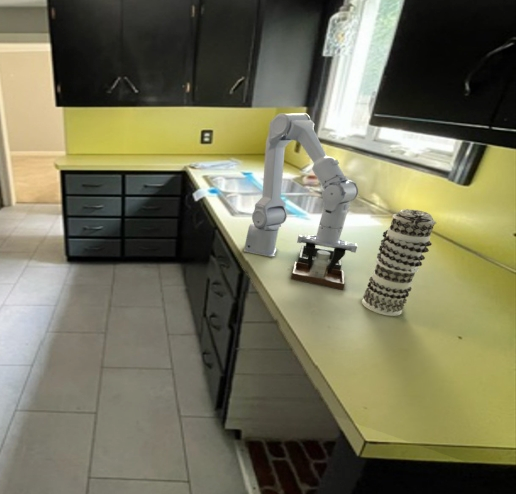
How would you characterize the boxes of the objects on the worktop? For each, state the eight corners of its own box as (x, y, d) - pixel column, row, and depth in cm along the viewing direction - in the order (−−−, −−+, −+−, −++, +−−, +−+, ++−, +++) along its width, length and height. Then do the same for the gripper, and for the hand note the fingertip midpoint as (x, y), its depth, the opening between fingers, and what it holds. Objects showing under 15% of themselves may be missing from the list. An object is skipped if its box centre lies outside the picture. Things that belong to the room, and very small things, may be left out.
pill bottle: (327, 280, 104) (334, 256, 101) (311, 279, 105) (317, 254, 101) (323, 273, 108) (329, 250, 104) (307, 272, 108) (313, 248, 105)
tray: (290, 278, 106) (292, 273, 105) (293, 266, 113) (295, 261, 112) (342, 290, 100) (344, 284, 99) (342, 276, 107) (344, 270, 106)
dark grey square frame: (297, 265, 113) (299, 257, 112) (299, 253, 122) (301, 244, 121) (338, 274, 108) (341, 265, 107) (338, 260, 117) (340, 251, 116)
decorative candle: (377, 317, 88) (414, 219, 77) (352, 297, 96) (381, 206, 86) (413, 316, 88) (454, 218, 78) (384, 296, 97) (417, 206, 86)
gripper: (301, 225, 99) (290, 269, 105) (363, 234, 93) (348, 281, 99) (302, 217, 105) (292, 260, 111) (361, 226, 99) (347, 270, 104)
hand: (319, 269), depth 105 cm, fingers open, 4 cm apart
